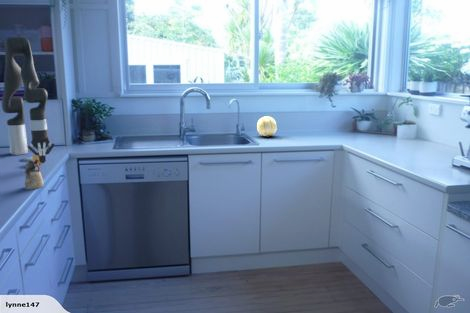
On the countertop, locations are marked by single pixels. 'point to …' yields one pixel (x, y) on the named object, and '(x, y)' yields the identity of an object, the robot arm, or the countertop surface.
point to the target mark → (26, 159)
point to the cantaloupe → (266, 126)
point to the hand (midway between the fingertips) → (42, 162)
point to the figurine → (33, 175)
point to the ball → (36, 158)
